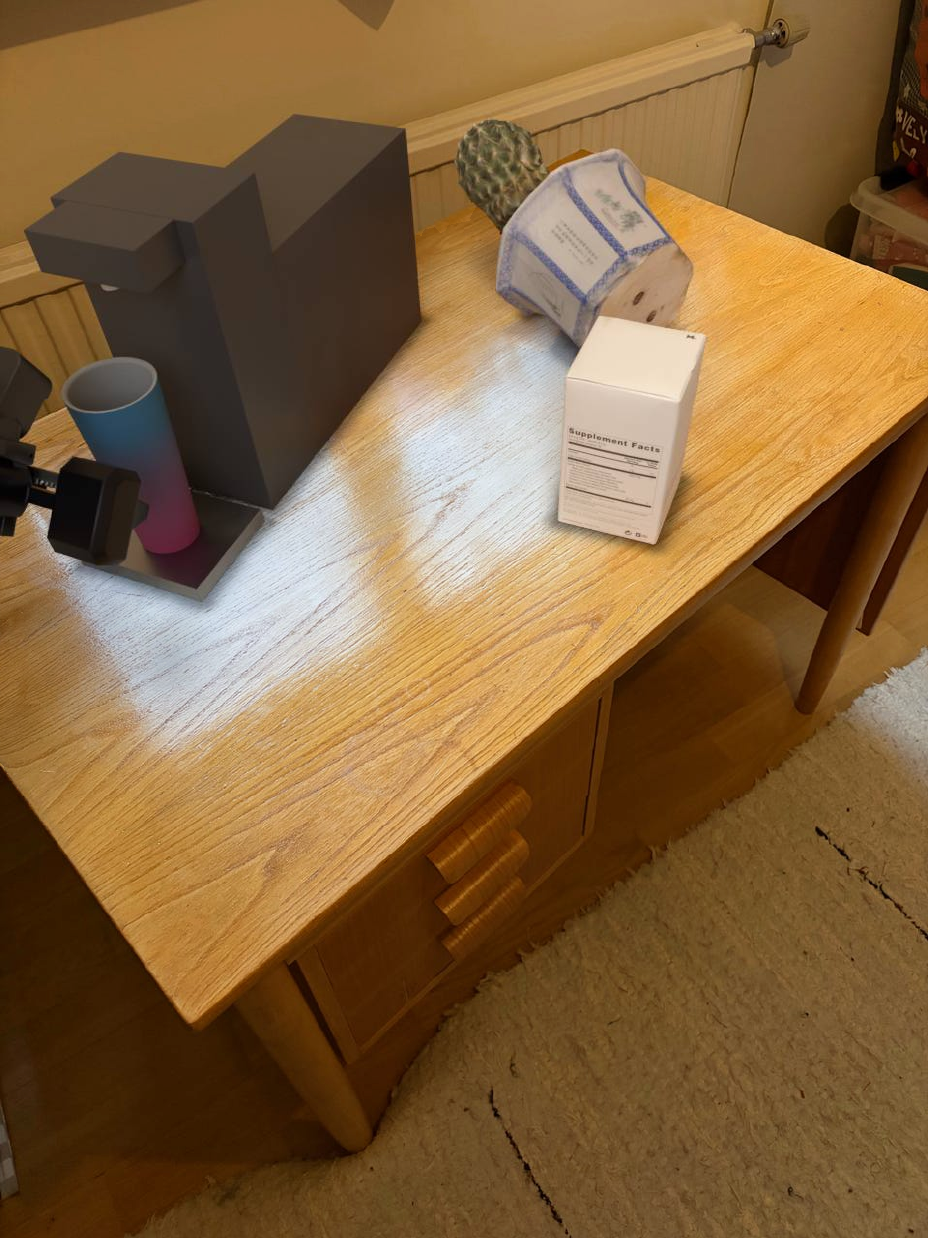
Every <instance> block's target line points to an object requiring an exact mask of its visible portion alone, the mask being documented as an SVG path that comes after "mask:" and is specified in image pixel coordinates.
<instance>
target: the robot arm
mask: <svg viewBox="0 0 928 1238" xmlns="http://www.w3.org/2000/svg"><path fill="white" fill-rule="evenodd" d="M52 392H53V381H52V380H51V378H49V377H48V375H46V374H45V373H44V372H43V371H41V370H40V369H39V368H38V367H37V366H35V364H33V363H32V362H31V361H29V359H27V358H26V357H25V356H24V355H23V354H21V353H20V351H18V350H17V349H14V348H10V347H7V346H2V345H0V537H9V538H12V537H13V538H14V536H15V531H16V526H17V520H18V518H21V517H22V516H23V515H24V513H25V512H26V510H27V508H28V505H29V504H30V505H34V506H37V507H39V508H43V509H47V510H50V511H51V513H50V518H49V522H48V523H49V524H48V529H47V534H46V539H47V541H48V542H49V545H50V546H51V548H52V550H53V552H54V553H55V554H59V555H63V556H64V557H68V558H72V559H75V560H78V561H81V562H82V561H84V562H88V563H91V564H94V565H97V566H118V565H119V564H121V563H122V562H123V561H125V560H126V557H127V552H128V547H129V542H130V538H131V533H132V530H133V529H134V528H136V527H137V526H138V525H139V524H141V523H142V522H143V521H145V520H146V519H147V516H148V511H149V505H148V504H147V503H145V502H143V501H141V500H139V499H138V498H139V493H140V488H141V483H142V482H141V480H140V478H139V476H138V474H137V472H136V471H133V470H129V469H125V468H122V467H118V466H114V465H110V464H107V463H103V462H99V461H96V460H95V459H89V458H84V457H80V456H75V455H74V456H72V457H71V458H69V460H67V462H66V463H65V464H63V465H62V466H61V467H60V468H59V470H58V471H59V472H56V471H53V470H49V469H45V468H42V467H38V466H34V462H35V457H36V453H37V445H36V444H33V443H29V442H24V441H21V440H22V439H23V438H24V437H26V436H27V435H28V433H29V432H30V429H31V428H32V426H33V424H34V422H35V420H36V418H37V416H38V414H39V412H40V410H41V408H42V406H43V404H44V402H45V400H48V399H49V397H50V396H51V393H52ZM48 488H50V489H54V490H55V491H53V490H49V489H48Z"/></svg>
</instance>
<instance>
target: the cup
mask: <svg viewBox="0 0 928 1238" xmlns="http://www.w3.org/2000/svg"><path fill="white" fill-rule="evenodd" d="M61 387H62V388H61V391H60V398H61V400H62V402H63V404H64V406H65V408H66V410H67V412H68V413H69V415H70V417H71V419H72V421H73V422H74V424H75V426H76V427H77V428H76V429H78V432H79V433H80V435H81V437H82V439H83V440H84V442H85V444H86V446H87V448H88V450H89V451H90V453H91V454H92V457H93V458H94V461H99V462H103V463H107V464H110V465H114V466H118V467H122V468H125V469H129V470H133V471H136V472H137V474H138V476H139V478H140V480H141V482H142V483H141V488H140V493H139V498H138V499H139V500H141V501H143V502H145V503H147V504H148V505H149V511H148V516H147V519H146V520H145V521H143V522H142V523H141V524H139V525H138V526H137V527H136V528H134V531H135V532H136V534H137V536H138V538H139V540H140V541H141V543H142V545H143V546H144V547H145V548H146V549H147V550H149V551H151V552H154V553H158V554H169V553H174V552H177V551H180V550H182V549H184V548H186V547H188V546H189V545H190V544H192V543H193V542H194V541H195V539H196V538H197V537H198V535H199V532H200V523H199V520H198V516H197V513H196V509H195V506H194V502H193V499H192V495H191V492H190V490H191V488H189V484H188V481H187V477H186V474H185V470H184V467H183V463H182V460H181V456H180V453H179V449H178V446H177V442H176V438H175V435H174V431H173V428H172V424H171V421H170V417H169V414H168V410H167V407H166V403H165V400H164V396H163V392H162V389H161V385H160V382H159V378H158V375H157V372H156V370H155V368H154V367H153V366H152V365H151V364H149V363H148V362H146V361H144V360H141V359H138V358H133V357H114V358H113V357H109V358H104V359H100V360H96V361H94V362H91V363H89V364H87V365H84V366H82V367H80V368H79V369H78V370H76V371H75V372H73V373H71V375H70V376H69V377H68V378H67V379H66V381H65V382H63V385H62V386H61Z"/></svg>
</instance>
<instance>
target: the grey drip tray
mask: <svg viewBox="0 0 928 1238" xmlns="http://www.w3.org/2000/svg"><path fill="white" fill-rule="evenodd" d="M190 492H191V495H192V499H193V502H194V506H195V509H196V513H197V516H198V520H199V523H200V532H199V535H198V537H197V538H196V539H195V541H194V542H193V543H192V544H190V545H189V546H188V547H186V548H184V549H182V550H180V551H177V552H174V553H169V554H158V553H154V552H151V551H149V550H147V549H146V548H145V547H144V546H143V545H142V543H141V541H140V540H139V538H138V536H137V534H136V532H135V531H134V529H133V530H132V533H131V538H130V542H129V547H128V552H127V557H126V560H125V561H123V562H122V563H121V564H119V565H118V566H97V565H94V564H91V563H88V562H84V561H81V562H82V564H83V566H86V567H87V566H88V567H90V568H94V569H97V570H100V571H103V572H107V573H108V574H109V573H110V574H113V575H116V576H119V577H122V578H126V579H129V580H131V581H134V582H138V583H142V584H144V585H147V586H150V587H154V588H157V589H160V590H162V591H163V590H164V591H167V592H170V593H173V594H177V595H180V596H183V597H186V598H189V599H192V600H196V601H199V602H203V601H204V600H205V598H206V597H207V596H208V595H209V593H210V592H212V589H213V588H214V587H215V586H216V584H218V582H219V581H220V579H221V578H222V577H223V576H224V574H225V573H226V572H227V571H228V569H229V568H230V567H231V565H232V564H233V563H234V562H235V561H236V559H237V558H238V557H239V555H240V554H241V553H242V552H243V550H244V549H245V548H246V546H247V545H248V544H249V542H250V541H251V540H252V539H253V538H254V536H255V535H256V534H257V532H258V531H259V529H260V528H262V526H263V525H264V523H265V518H264V515H263V511H262V508H261V509H260V508H259V507H258V508H257V507H254V506H250V505H247V504H243V503H240V502H235V501H232V500H229V499H225V498H221V497H217V496H213V495H210V494H206V493H202V492H199V491H195V490H192V489H190Z"/></svg>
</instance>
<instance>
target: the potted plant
mask: <svg viewBox="0 0 928 1238" xmlns="http://www.w3.org/2000/svg"><path fill="white" fill-rule="evenodd" d="M453 162H454V164H455V169H456V170H457V172H458V181H457V183H458V185H459V186H460V188H461V189H463V191H464V192H465V195H466V196H467V199H468V200H469V201H470V203H473V204H474V205H475V206H476V207H477V208H478V209H480V210H481V211H483V212H484V213H485V214H486V216H487V218H488V219H490V221H492V223H493V225H494V226H495V228H496V230H498V231H499V235H501V237H500V241H499V246H498V249H497V261H496V267H495V280H494V281H495V282H494V288H495V289H494V290H495V292H496V294H497V295H498V296H499V297H501V298H502V300H503V301H505V303H507V304H510V305H511V306H513V307H514V308H515V309H516V310H518V311H519V312H520V313H522V314H524V315H526V316H533V315H536V314H539V315H543V316H545V317H546V318H548V319H549V320H550V321H551V322H552V324H554V325H555V326H556V327H557V328H559V329H560V330H562V331H563V333H565V335H567V336H568V337H569V339H570V340H571V341H572V342H573V344H574V345H575V346H576V347H577V348H578V349H579V350H580V349H581V347H582V346H583V344H584V342H585V340H586V338H587V337H588V335H589V333H590V331H591V329H592V328H593V326H594V324H595V322H596V320H597V319H598V317H599V316H604V317H613V318H619V319H624V320H629V321H634V322H638V323H643V324H648V325H653V326H659V327H664V328H666V327H668V326H669V325H670V324H671V323H673V322H674V321H675V319H677V316H678V314H679V312H680V311H681V309H682V306H683V305H684V302H685V300H686V296H687V293H688V290H689V286H690V284H691V282H692V279H693V276H694V264H693V263H692V261H691V260H690V257H688V255H687V254H686V252H685V251H684V250H683V249H682V248H681V247H680V245H679V244H678V243H677V241H676V240H675V239H674V238H673V236H672V235H671V234H670V232H669V231H668V230H667V229H666V228H665V227H664V225H663V224H662V223H661V222H660V220H658V218H657V217H656V216H655V213H654V212H653V211H652V209H651V207H650V206H649V205H648V201H647V199H646V191H647V181H648V180H647V179H646V177H645V176H644V175H643V174H642V172H641V171H640V170H639V169H638V167H637V166H636V165H635V163H634V162H633V161H632V160H631V159H630V158H629V156H628V155H627V154H626V153H625V152H623V151H622V149H617V148H609V149H607V150H604V151H601V152H596V153H592V154H589V155H587V156H586V155H585V156H584V157H581V158H578V159H575V160H572V161H569V162H566V163H564V164H562V165H560V166H558V167H556V168H555V169H554V170H552V171H551V172H550V171H549V168H548V167H547V166H546V164H545V162H544V158H543V155H542V152H541V150H540V148H539V146H538V144H537V143H535V142H533V140H532V136H531V131H529V130H527V129H524V128H523V127H522V126H518V125H517V124H516V123H514V122H511V121H509V120H507V119H505V120H498V119H497V118H491V117H488V118H486V119H485V120H482V121H480V122H478V123H476V122H473V124H472V126H471V128H470V129H468V130H464V133H463V138H462V139H461V140H460V141H459V142H458V144H457V153H456V156H455V158H454V160H453Z"/></svg>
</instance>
